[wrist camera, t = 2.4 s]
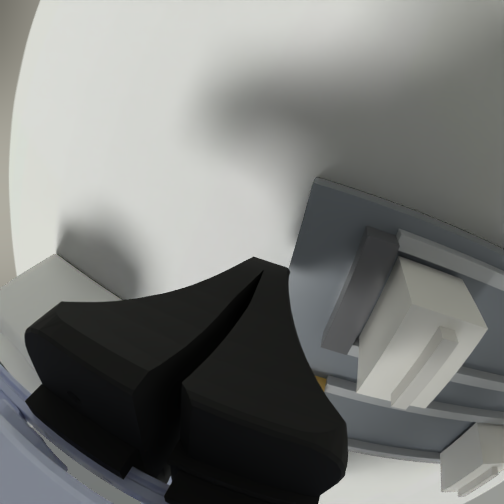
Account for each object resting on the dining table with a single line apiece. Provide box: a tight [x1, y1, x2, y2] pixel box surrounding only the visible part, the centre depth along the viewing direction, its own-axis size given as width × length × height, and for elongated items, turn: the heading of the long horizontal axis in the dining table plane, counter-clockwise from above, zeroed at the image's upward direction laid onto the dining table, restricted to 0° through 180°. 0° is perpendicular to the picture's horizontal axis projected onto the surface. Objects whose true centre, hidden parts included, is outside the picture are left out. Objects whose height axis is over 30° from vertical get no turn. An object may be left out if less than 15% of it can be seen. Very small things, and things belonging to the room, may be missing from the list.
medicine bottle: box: [0, 254, 122, 428], centre depth 15 cm, size 7×7×12 cm
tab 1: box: [356, 256, 488, 410], centre depth 9 cm, size 4×3×4 cm
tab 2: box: [440, 422, 504, 497], centre depth 11 cm, size 4×3×4 cm
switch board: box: [289, 177, 504, 463], centre depth 12 cm, size 15×20×2 cm
